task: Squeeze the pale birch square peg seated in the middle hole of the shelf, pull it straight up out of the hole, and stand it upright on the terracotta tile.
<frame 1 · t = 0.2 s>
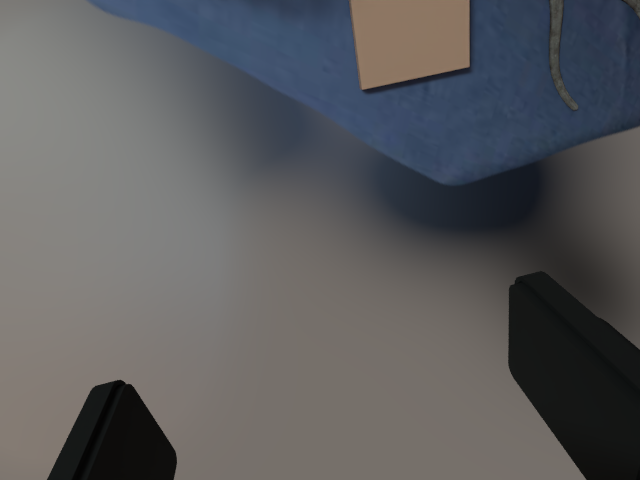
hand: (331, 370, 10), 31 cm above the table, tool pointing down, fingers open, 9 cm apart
tile: (408, 16, 34), on the table
pliers: (558, 9, 36), on the table
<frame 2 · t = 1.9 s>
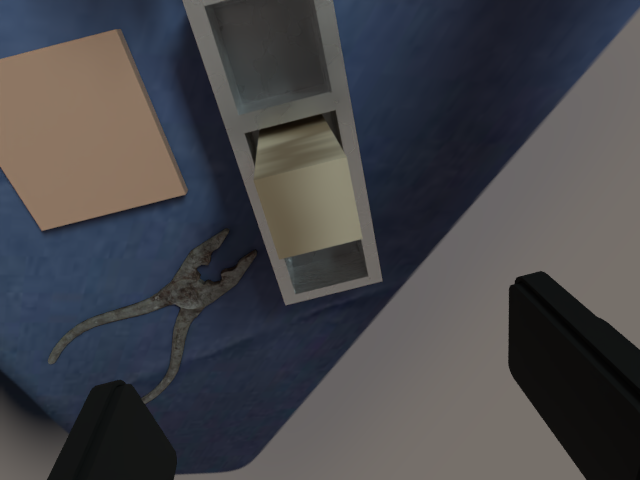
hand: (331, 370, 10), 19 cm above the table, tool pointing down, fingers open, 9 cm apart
shelf: (297, 147, 27), on the table
peg: (297, 149, 26), resting on shelf
tile: (80, 137, 25), on the table
pliers: (147, 308, 32), on the table
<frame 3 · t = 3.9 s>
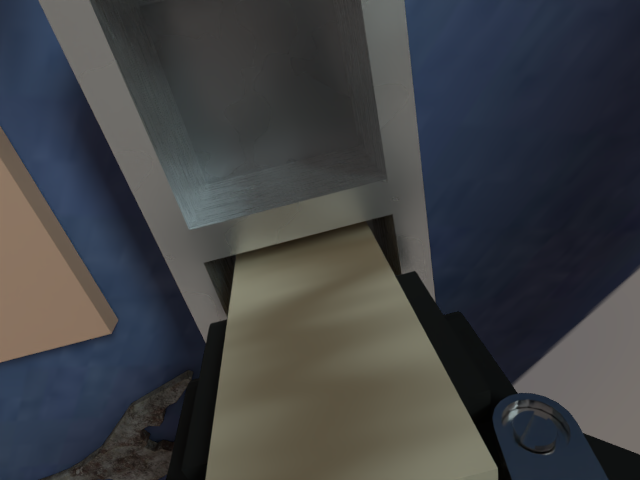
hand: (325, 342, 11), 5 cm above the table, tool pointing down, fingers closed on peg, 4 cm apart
shelf: (307, 248, 15), on the table
peg: (309, 255, 15), point 1 cm above the table, touching gripper, shelf
pliers: (70, 476, 21), on the table
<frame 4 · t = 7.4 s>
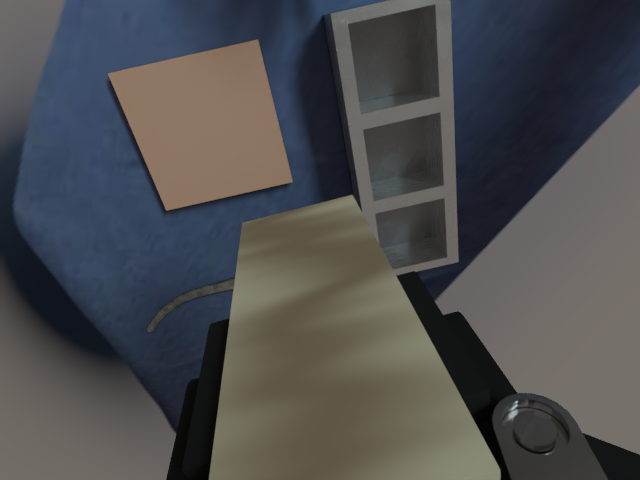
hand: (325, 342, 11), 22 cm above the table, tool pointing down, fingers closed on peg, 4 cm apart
shelf: (390, 143, 31), on the table
peg: (310, 256, 15), point 17 cm above the table, touching gripper
tile: (209, 129, 29), on the table
pliers: (239, 284, 36), on the table
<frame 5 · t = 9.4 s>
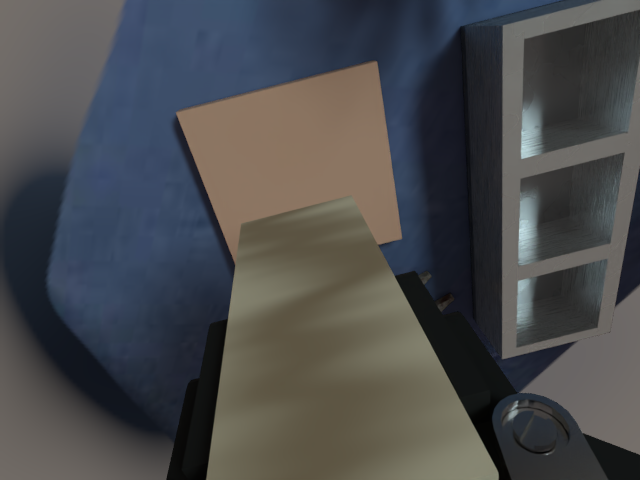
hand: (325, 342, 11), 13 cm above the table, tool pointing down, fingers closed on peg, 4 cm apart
shelf: (524, 186, 24), on the table
peg: (309, 256, 15), point 8 cm above the table, touching gripper
tile: (300, 177, 22), on the table
when the fingers open (7 cm above the table, at t = 10.9 s): peg drops 1 cm, resting on tile.
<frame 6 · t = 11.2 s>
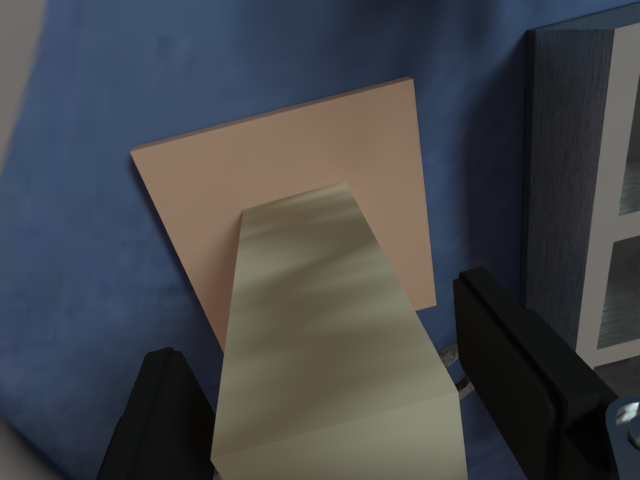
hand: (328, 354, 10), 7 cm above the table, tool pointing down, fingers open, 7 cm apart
shelf: (593, 235, 19), on the table
peg: (307, 239, 16), point 1 cm above the table, touching tile
tile: (304, 231, 17), on the table
pliers: (325, 434, 24), on the table
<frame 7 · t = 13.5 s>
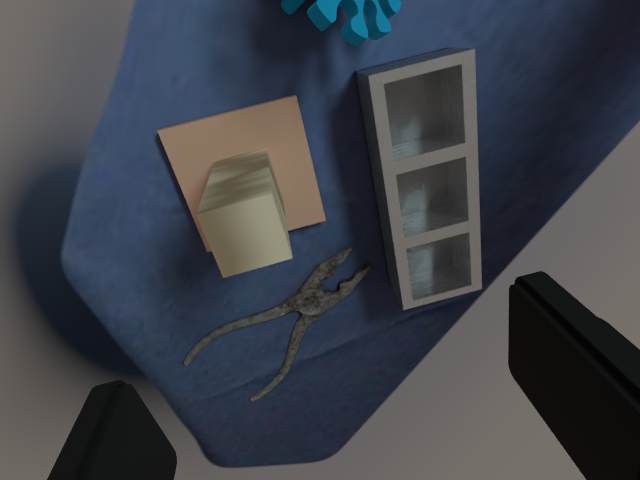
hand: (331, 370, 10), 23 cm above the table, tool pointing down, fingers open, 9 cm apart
shelf: (414, 181, 33), on the table
peg: (249, 179, 30), point 1 cm above the table, touching tile
tile: (248, 176, 31), on the table
pliers: (271, 315, 38), on the table
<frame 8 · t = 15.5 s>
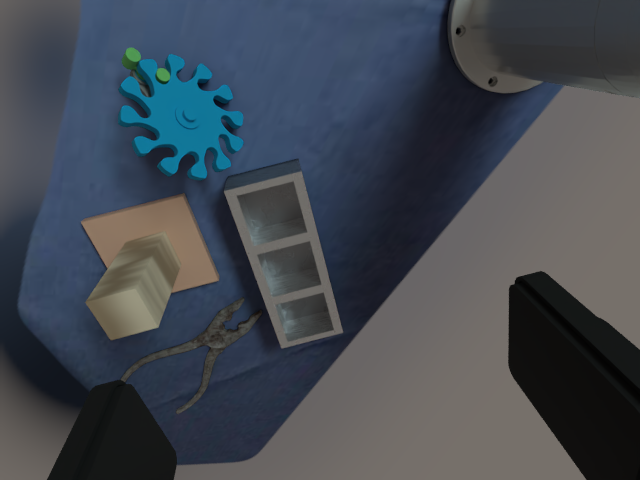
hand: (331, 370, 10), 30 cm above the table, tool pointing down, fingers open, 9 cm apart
shelf: (288, 250, 43), on the table
peg: (154, 253, 40), point 1 cm above the table, touching tile
tile: (155, 249, 41), on the table
pliers: (187, 347, 48), on the table
gear: (189, 105, 35), on the table
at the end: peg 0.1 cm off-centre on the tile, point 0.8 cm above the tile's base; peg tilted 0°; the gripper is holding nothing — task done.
